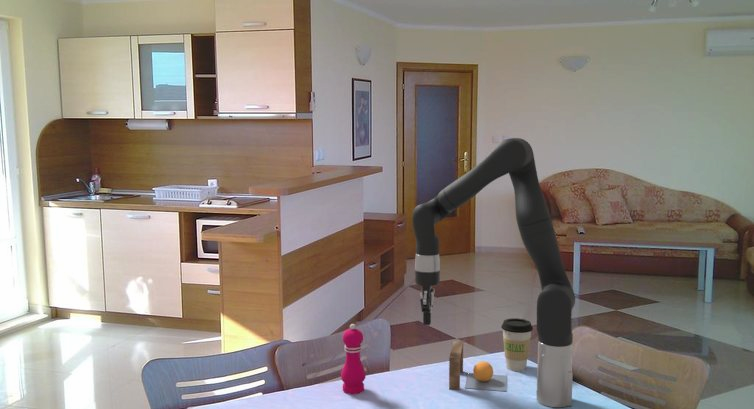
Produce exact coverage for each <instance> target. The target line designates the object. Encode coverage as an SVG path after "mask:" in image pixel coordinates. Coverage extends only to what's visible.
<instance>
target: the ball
mask: <svg viewBox="0 0 754 409" xmlns="http://www.w3.org/2000/svg"><path fill="white" fill-rule="evenodd" d="M472 373H474V376H475V377H476V379H478V380H479V381H482V382H485V381H488V380H490V379H491V378H492V376H493V375H494V368H493V366H492V364H491V363H489V362H488V361H483V360H482V361H478V362H477V363H475V364H474V366H473V370H472Z"/></svg>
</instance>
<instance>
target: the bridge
mask: <svg viewBox="0 0 754 409" xmlns="http://www.w3.org/2000/svg"><path fill="white" fill-rule="evenodd" d="M448 358H449V360H448V362H449V364H448V366H449V367H448V372H449V373H448V375H449V376H448V390H453V391H454V390H455V391H460V388H461V374H460V373H464V341H458V340H453V344H452V346H451V350H450V354H449V357H448Z"/></svg>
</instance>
